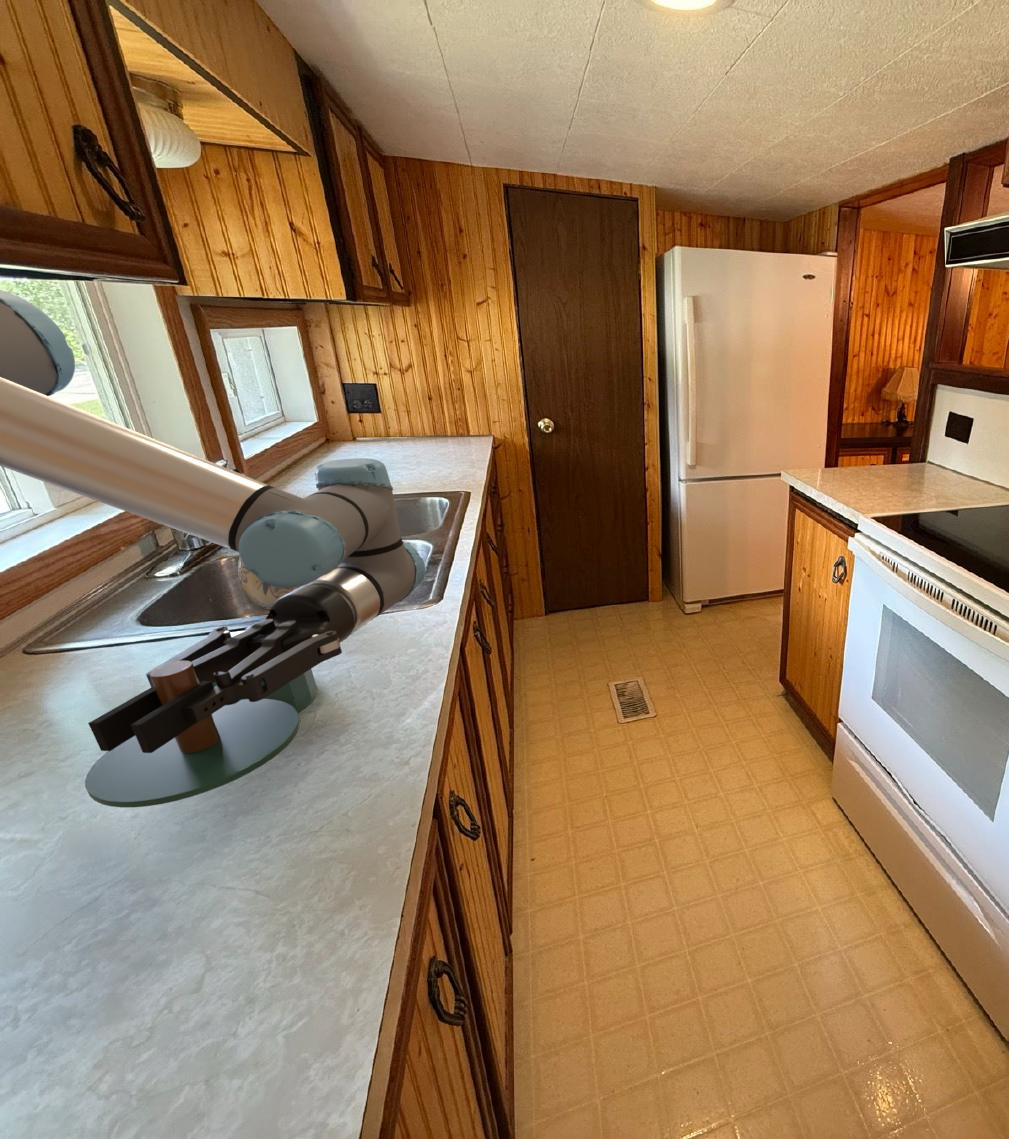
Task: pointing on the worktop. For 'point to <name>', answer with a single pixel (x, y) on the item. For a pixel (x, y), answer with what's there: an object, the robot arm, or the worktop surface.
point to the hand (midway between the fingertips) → (120, 737)
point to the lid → (193, 748)
